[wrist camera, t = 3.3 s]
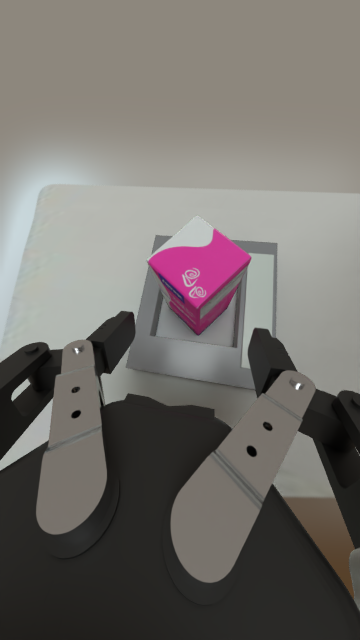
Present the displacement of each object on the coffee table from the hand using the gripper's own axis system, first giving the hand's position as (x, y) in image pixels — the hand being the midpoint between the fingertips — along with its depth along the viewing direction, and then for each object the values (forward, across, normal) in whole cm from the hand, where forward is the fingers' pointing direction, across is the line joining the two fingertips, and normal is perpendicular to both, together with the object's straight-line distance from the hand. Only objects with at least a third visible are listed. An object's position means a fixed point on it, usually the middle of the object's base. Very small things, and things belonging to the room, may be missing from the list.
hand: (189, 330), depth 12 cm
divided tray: (+12, 0, +4) cm, 12 cm away
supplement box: (+12, 0, +4) cm, 12 cm away
